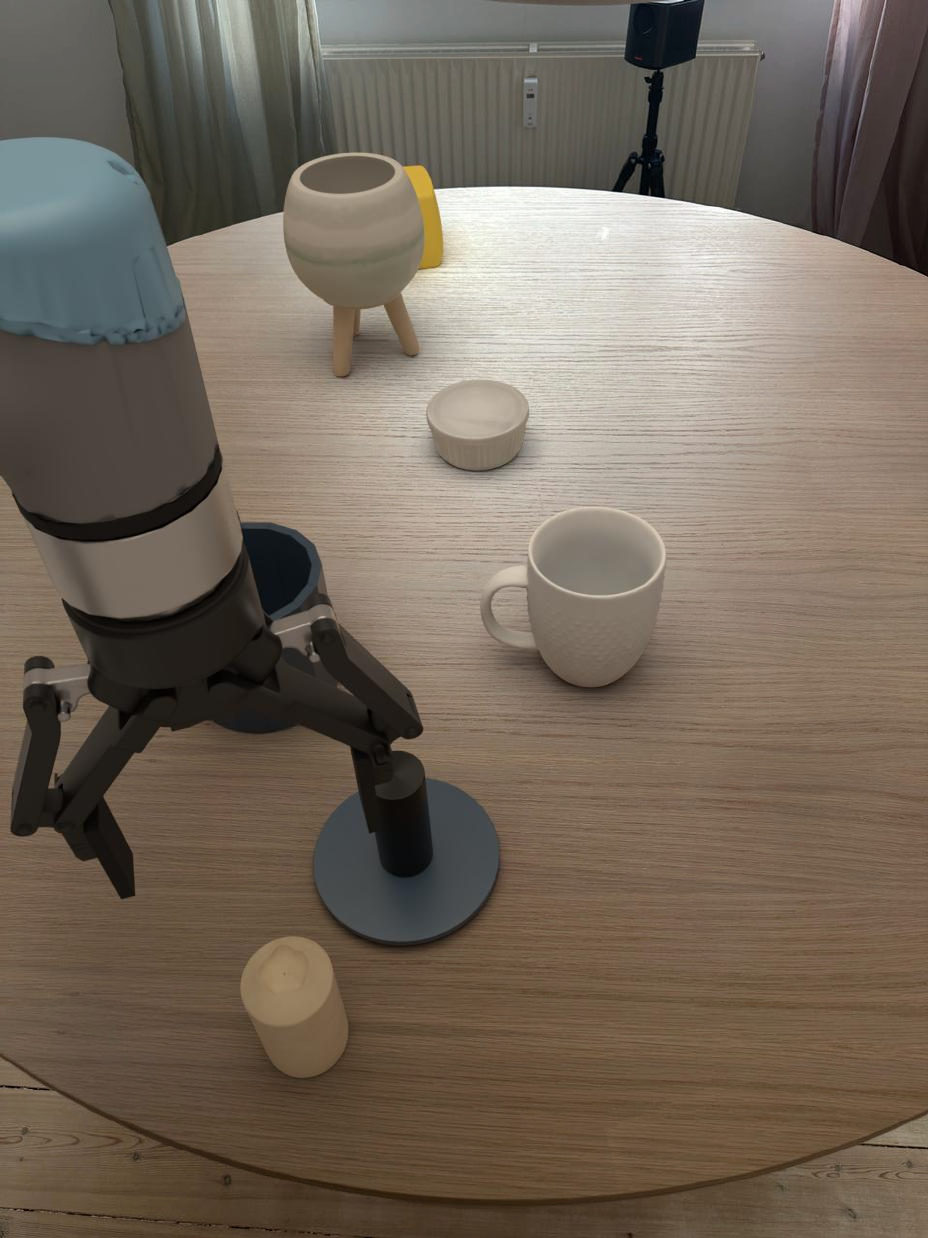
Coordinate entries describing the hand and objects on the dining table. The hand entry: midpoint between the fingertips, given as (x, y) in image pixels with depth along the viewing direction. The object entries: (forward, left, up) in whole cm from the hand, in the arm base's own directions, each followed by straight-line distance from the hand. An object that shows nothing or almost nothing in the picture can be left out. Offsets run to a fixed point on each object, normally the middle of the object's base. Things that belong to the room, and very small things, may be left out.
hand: (251, 844), depth 55 cm
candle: (0, -4, -18) cm, 18 cm away
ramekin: (+33, +53, -18) cm, 65 cm away
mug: (+30, +20, -18) cm, 40 cm away
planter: (+27, +77, -18) cm, 83 cm away
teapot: (+39, +102, -18) cm, 111 cm away
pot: (+4, +28, -18) cm, 33 cm away
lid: (+10, +6, -17) cm, 20 cm away
